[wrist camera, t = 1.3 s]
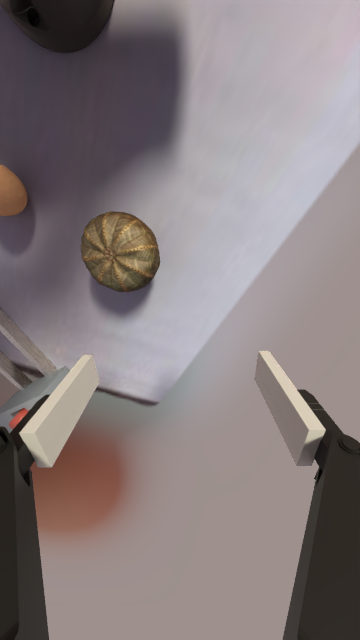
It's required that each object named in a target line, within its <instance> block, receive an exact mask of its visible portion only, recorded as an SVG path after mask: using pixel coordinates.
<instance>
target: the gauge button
mask: <svg viewBox="0 0 360 640" xmlns="http://www.w3.org/2000/svg"><path fill="white" fill-rule="evenodd" d="M27 413H28V410H27V409H25V408H23V409H21V410H20V412H19V413H18V414H17V415H16V416H15V417H14V418H13V419H12V420H11V421H10V422H9V427H10V428H11V429H14V428H15V426H16V425H17V424H18V423H19V422H20V421H21V419H22V418H23V417H24V416H25V415H26V414H27Z"/></svg>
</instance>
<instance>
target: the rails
mask: <svg viewBox="0 0 360 640" xmlns="http://www.w3.org/2000/svg"><path fill="white" fill-rule="evenodd" d="M0 332H1V333H2V334H3V335H4V336H5V337H6V338H7V339H8V340H9V341H10V342H11V343H12V344H13V345H14V346H15V347H16V348H17V349H18V350H19V351H20V352H21V353H22V354H23V355H24V356H25V357H26V358H27V359H28V360H29V361H30V362H31V363H32V364H33V365H34V366H35V367H36V368H37V369H38V370H39V371H40V372H41V373H42V374H43V375H44V376H45V377H46V378H47V379H48V378H51V377H52V376H53V375H54V374H55V373H56V372H57V371H58V369H57V368H56V367H55V366H54V365H53V364H52V363H51V362H50V361H49V360H48V359H47V357H46V356H45V355H44V354H43V353H42V352H41V351H40V350H39V349H38V348H37V347H36V346H35V345H34V344H33V343H32V342H31V341H30V339H29V338H28V337H27V336H26V335H25V334H24V333H23V332H22V331H21V330H20V329H19V328H18V327H17V326H16V325H15V324H14V323H13V321H12V320H11V319H10V318H9V317H8V316H7V315H6V314H5V313H4V312H3V311H2V310H1V309H0ZM0 372H1V374H3V375H4V376H5V377H6V378H7V379H8V380H9V381H10V382H11V383H13V384H14V385H15V386H16V387H17V388H18V389H19V390H20V391H23V390H25V389H26V388H27V387H28V386H29V385H30V384H31V383H32V381H31V380H30V379H28V377H27V376H26V375H24V373H22V372H21V371H20V370H19V369H18V368H17V367H16V366H15V365H14V364H13V363H12V362H11V361H10V360H9V359H8V358H7V357H6V356H5V355H4V354H3V353H2V352H1V351H0Z"/></svg>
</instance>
